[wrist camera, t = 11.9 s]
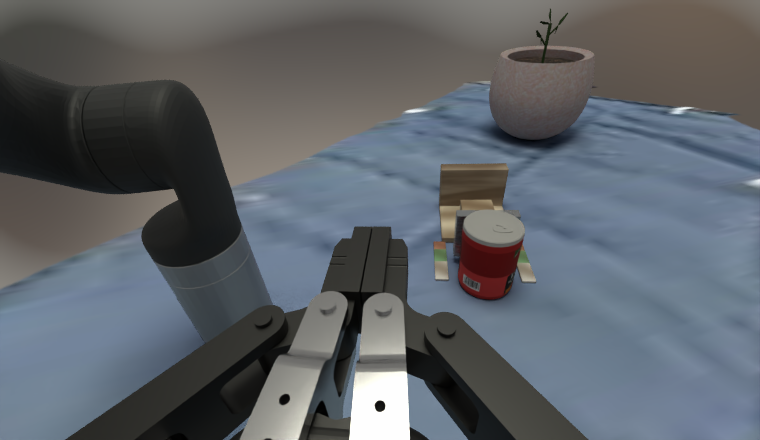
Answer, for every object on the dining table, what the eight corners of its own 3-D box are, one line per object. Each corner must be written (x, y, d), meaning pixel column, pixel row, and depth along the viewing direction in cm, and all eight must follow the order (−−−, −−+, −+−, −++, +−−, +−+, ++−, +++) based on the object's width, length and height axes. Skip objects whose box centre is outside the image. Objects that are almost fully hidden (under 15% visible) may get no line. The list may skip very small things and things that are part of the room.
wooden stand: (535, 282, 51) (549, 236, 45) (435, 280, 52) (437, 235, 47) (506, 203, 68) (514, 163, 63) (431, 203, 70) (433, 164, 64)
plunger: (511, 257, 53) (520, 216, 48) (453, 256, 54) (457, 216, 49) (497, 213, 63) (503, 175, 58) (448, 212, 64) (451, 175, 59)
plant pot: (467, 129, 100) (478, 11, 83) (533, 114, 106) (556, 2, 89) (522, 161, 82) (550, 18, 64) (597, 141, 88) (643, 6, 70)
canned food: (516, 302, 48) (532, 244, 42) (459, 300, 49) (466, 243, 42) (505, 264, 54) (518, 208, 48) (455, 263, 55) (460, 208, 49)
